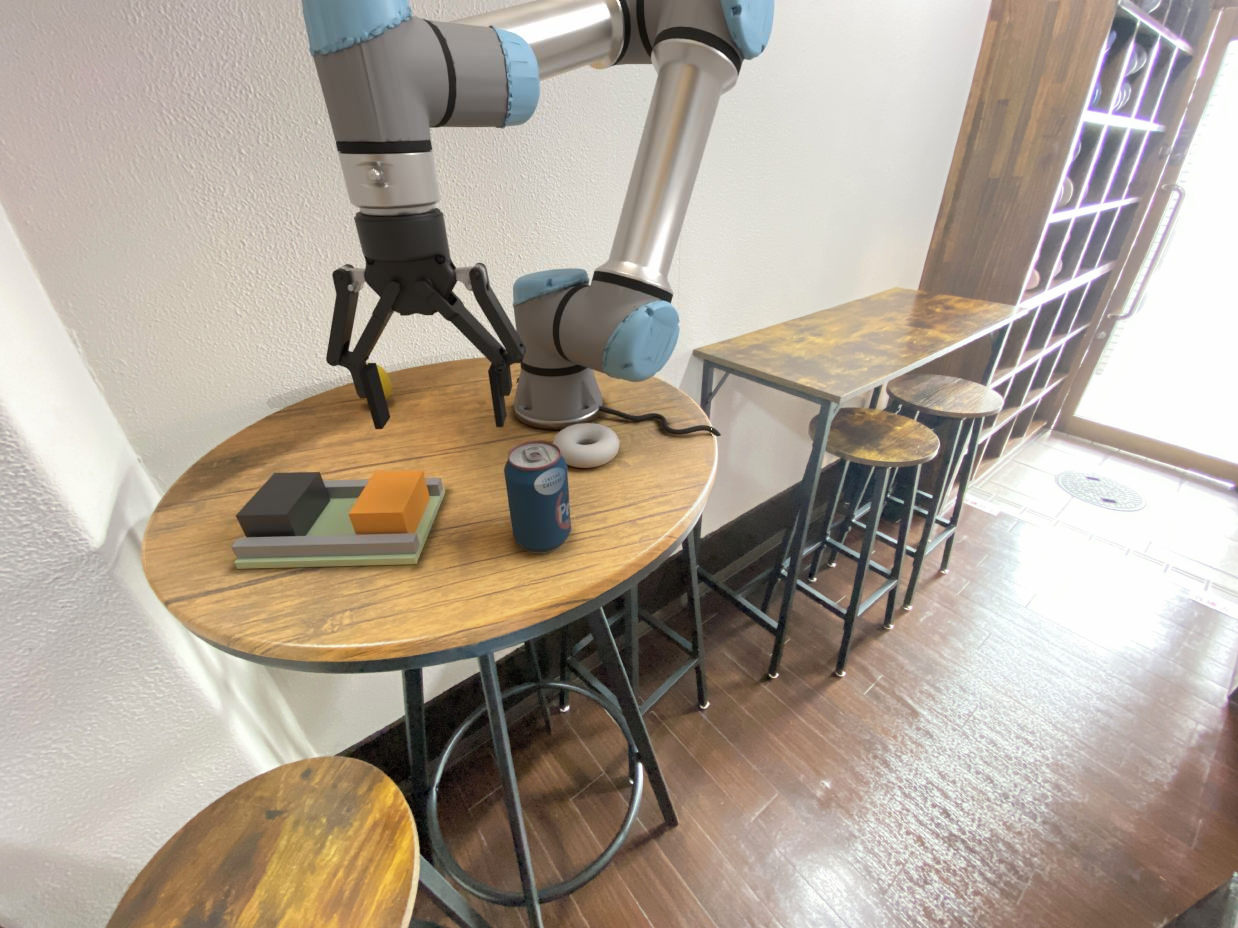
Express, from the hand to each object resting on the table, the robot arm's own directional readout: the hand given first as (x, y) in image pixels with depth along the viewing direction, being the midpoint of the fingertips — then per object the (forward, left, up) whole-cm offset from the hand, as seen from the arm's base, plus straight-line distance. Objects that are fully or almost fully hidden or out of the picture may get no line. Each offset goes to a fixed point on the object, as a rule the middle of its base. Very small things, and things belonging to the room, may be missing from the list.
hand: (442, 422), depth 59 cm
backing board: (+14, 0, -14) cm, 20 cm away
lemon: (+22, -34, -15) cm, 43 cm away
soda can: (-10, +3, -15) cm, 18 cm away
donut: (-15, -16, -15) cm, 26 cm away
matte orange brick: (+8, 0, -13) cm, 16 cm away
